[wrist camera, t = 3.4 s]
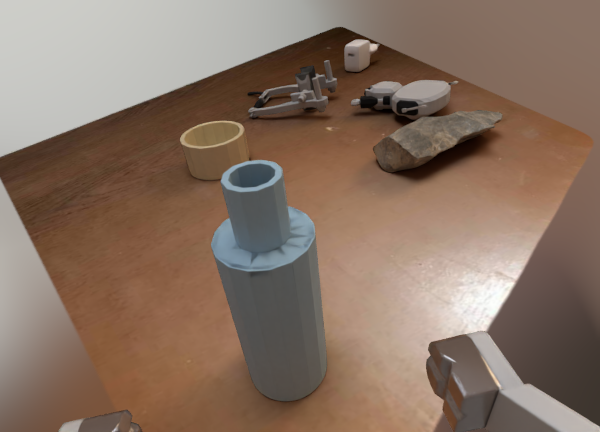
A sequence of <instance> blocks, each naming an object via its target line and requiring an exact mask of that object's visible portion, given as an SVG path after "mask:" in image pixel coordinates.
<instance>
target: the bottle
mask: <svg viewBox="0 0 600 432" xmlns="http://www.w3.org/2000/svg"><path fill="white" fill-rule="evenodd" d="M221 186H222V190H223V194H224V198H225V202H226V205H227V209H228V213H229V217H230V218H228V219H227V220H225V221H224V222H223V223H222V224H221V225H220V227H219V228H218V229H217V230H216V231H215V233H214V236H213V240H212V243H211V247H212V251H213V254H214V257H215V260H216V264H217V267H218V270H219V274H220V277H221V280H222V284H223V287H224V290H225V294H226V297H227V300H228V304H229V307H230V310H231V313H232V317H233V320H234V323H235V327H236V330H237V333H238V337H239V340H240V343H241V347H242V350H243V353H244V356H245V360H246V363H247V366H248V370H249V373H250V375H251V379H252V381H253V384H254V385H255V387H256V388H257V389H258V390H259V391H260V392H261V393H262V394H263V395H265V396H266V397H268V398H271V399H273V400H277V401H294V400H298V399H301V398H303V397H305V396H307V395H309V394H310V393H312V392H313V391H314V390H315V389H316V388H317V387H318V386H319V385H320V383H321V382H322V380H323V378H324V376H325V373H326V369H327V354H326V343H325V332H324V321H323V311H322V300H321V289H320V278H319V268H318V257H317V246H316V235H315V225H314V223H313V222H312V221H311V219H310V218H309V217H308V216H307V214H305V213H303V212H301V211H299V210H297V209H295V208H293V207H288V204H287V197H286V190H285V183H284V176H283V169H282V168H281V167H280V166H279V165H278V164H276V163H275V162H270V161H265V160H255V161H246V162H243V163H240V164H237V165H235V166H232V167H231V168H230V169H228V170H227V171H226V172H224V173H223V176H222V179H221Z"/></svg>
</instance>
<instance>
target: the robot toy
mask: <svg viewBox="0 0 600 432" xmlns="http://www.w3.org/2000/svg"><path fill="white" fill-rule="evenodd" d="M457 83H458V81H454V82H451V83H446V82H444V81H432V80H421V81H416V82H413V83H410V84H408V85H405V86H403V87H402V86H401V84H400V83H396V82H390V81H384V82H380V83H377V84H375V85H372V86H370V88H367V89H366V90H365V93H364V95H365V96H361V98H360V100H359V99H355V100H352V102H351V105H352V106H358V105H360V104H361V108H371V107H374V108H375V109H376V110H382V109H383V108H384V109H393V111H394V112H395V113H396V114H397V115H402V116H406V117H408V118H409V119H411V120H418V119H420V118H422V117H424V116H428V115H431V114H433V113H435V112H437V111H439V110H441V109H442V108H444V107H445V106H446V105H447V103H448V102H449V100H450V89H451V87H450V86H449V85H451V84H457Z"/></svg>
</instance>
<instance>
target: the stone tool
mask: <svg viewBox="0 0 600 432" xmlns="http://www.w3.org/2000/svg"><path fill="white" fill-rule="evenodd" d="M501 120H502V114H501V113H499V112H491V111H482V110H477V111H474V112H465V111H459V112H454V113H453V114H451V115H447V116H440V117H425V116H424V117H422V118H420V119H418V120H416V121H415V122H412V123H410V124H408V125H405V126H403V127H402V128H400V129H398V130H397V131H395V132H394V133H393V134H391V135H389V136H387V137H385V138H384V139H382V140H381V141H380V142H379V143H378V144H377V145H376V146H374V147H373V151H374V152H375V154H376V156H377V160H378V162H379V164H380V166H381V167H382V168H383V169H384V170H385V171H387V172H395V171H399V170H405V169H411V168H416V167H419V166H420V165H423V164H425V163H427V162H428V161H430V160H431V159H432V158H434V157H435V156H436V155H437V154H439V153H440V152H443V151H445V150H447V149H449V148H452V147H454V146H455V145H456V144H459V143H463V142H464V141H466V140H468V139H471V138H474V137H477V136H479V135H481V134H482V133H484V132H486V131H488V130H489V129H491V128H494V127H495V126H493V124H495V123H498V122H500V121H501Z"/></svg>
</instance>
